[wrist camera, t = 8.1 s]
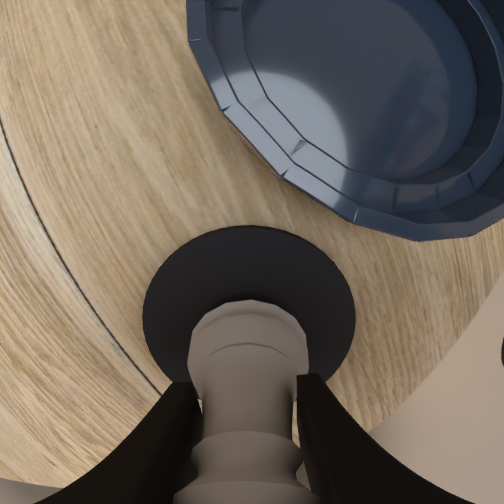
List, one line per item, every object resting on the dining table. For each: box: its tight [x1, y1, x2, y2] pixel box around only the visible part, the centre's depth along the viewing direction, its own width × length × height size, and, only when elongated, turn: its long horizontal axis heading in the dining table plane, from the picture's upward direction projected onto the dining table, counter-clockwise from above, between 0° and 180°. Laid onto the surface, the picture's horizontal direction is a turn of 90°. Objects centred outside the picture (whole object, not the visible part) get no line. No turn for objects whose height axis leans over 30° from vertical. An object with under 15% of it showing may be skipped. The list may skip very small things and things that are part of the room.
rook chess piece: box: [173, 300, 320, 504], centre depth 8 cm, size 4×4×8 cm
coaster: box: [142, 225, 355, 401], centre depth 12 cm, size 9×9×1 cm
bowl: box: [186, 0, 504, 242], centre depth 7 cm, size 13×13×4 cm
